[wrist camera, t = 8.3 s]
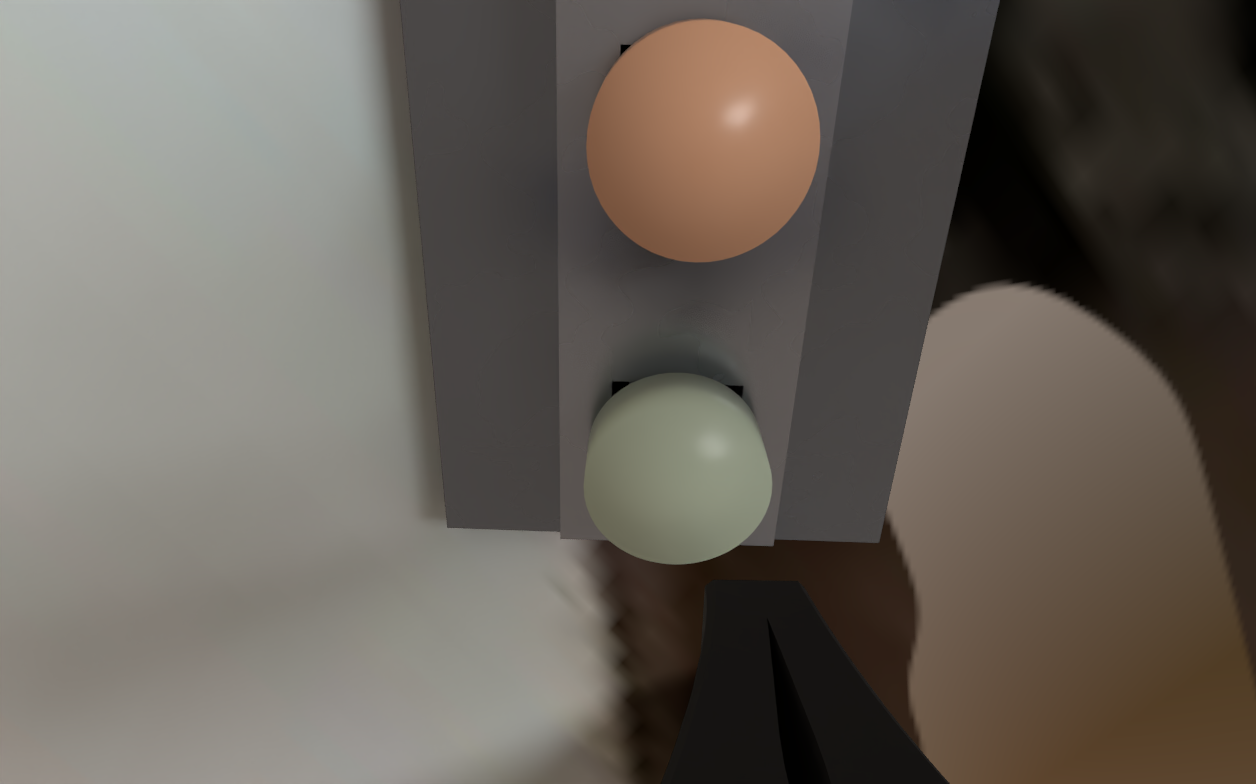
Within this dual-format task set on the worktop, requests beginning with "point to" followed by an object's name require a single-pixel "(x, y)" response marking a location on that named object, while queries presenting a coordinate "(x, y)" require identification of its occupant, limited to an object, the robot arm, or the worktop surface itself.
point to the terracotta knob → (702, 140)
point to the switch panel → (519, 253)
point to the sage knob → (676, 469)
